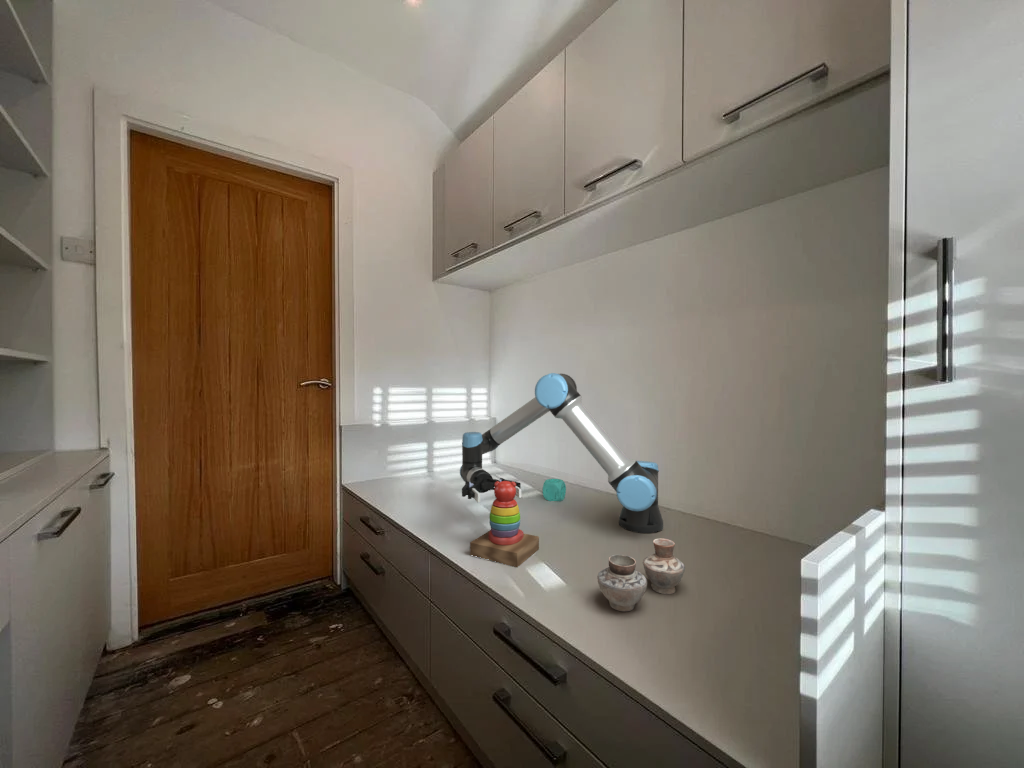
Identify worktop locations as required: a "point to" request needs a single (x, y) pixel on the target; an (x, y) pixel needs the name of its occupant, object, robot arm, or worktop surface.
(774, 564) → the worktop surface
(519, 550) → the plinth
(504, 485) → the stacking bear
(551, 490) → the decorative dice
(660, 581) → the pottery
